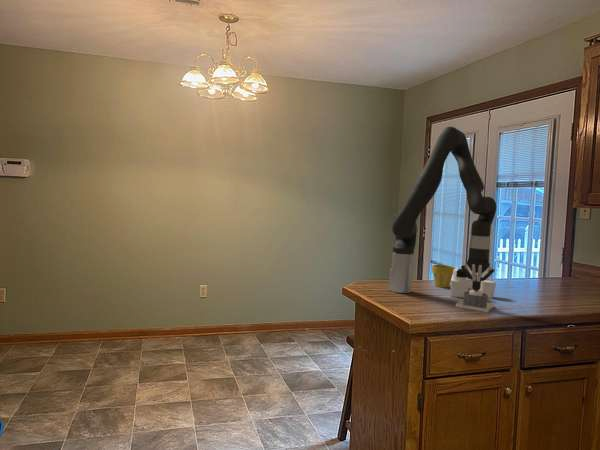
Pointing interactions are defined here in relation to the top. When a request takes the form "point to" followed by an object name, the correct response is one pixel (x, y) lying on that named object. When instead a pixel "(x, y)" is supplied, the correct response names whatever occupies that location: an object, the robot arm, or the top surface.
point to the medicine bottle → (459, 283)
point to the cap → (475, 292)
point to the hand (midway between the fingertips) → (475, 290)
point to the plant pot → (442, 275)
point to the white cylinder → (488, 287)
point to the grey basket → (475, 302)
